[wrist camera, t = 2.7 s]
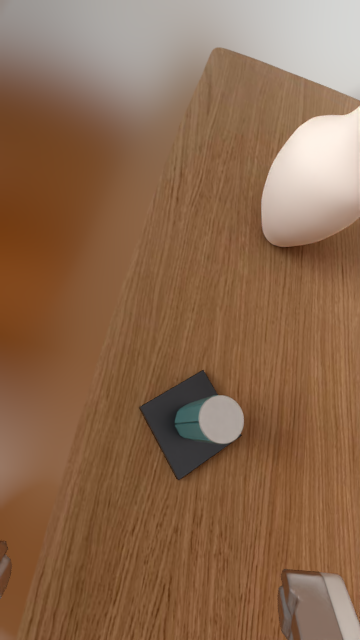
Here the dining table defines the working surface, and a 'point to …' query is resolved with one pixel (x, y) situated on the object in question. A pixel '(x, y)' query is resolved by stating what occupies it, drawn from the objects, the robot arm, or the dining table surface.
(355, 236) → the dining table surface
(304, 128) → the vase
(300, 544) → the dining table surface
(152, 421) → the black peg stand
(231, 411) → the teal ribbed pillar
